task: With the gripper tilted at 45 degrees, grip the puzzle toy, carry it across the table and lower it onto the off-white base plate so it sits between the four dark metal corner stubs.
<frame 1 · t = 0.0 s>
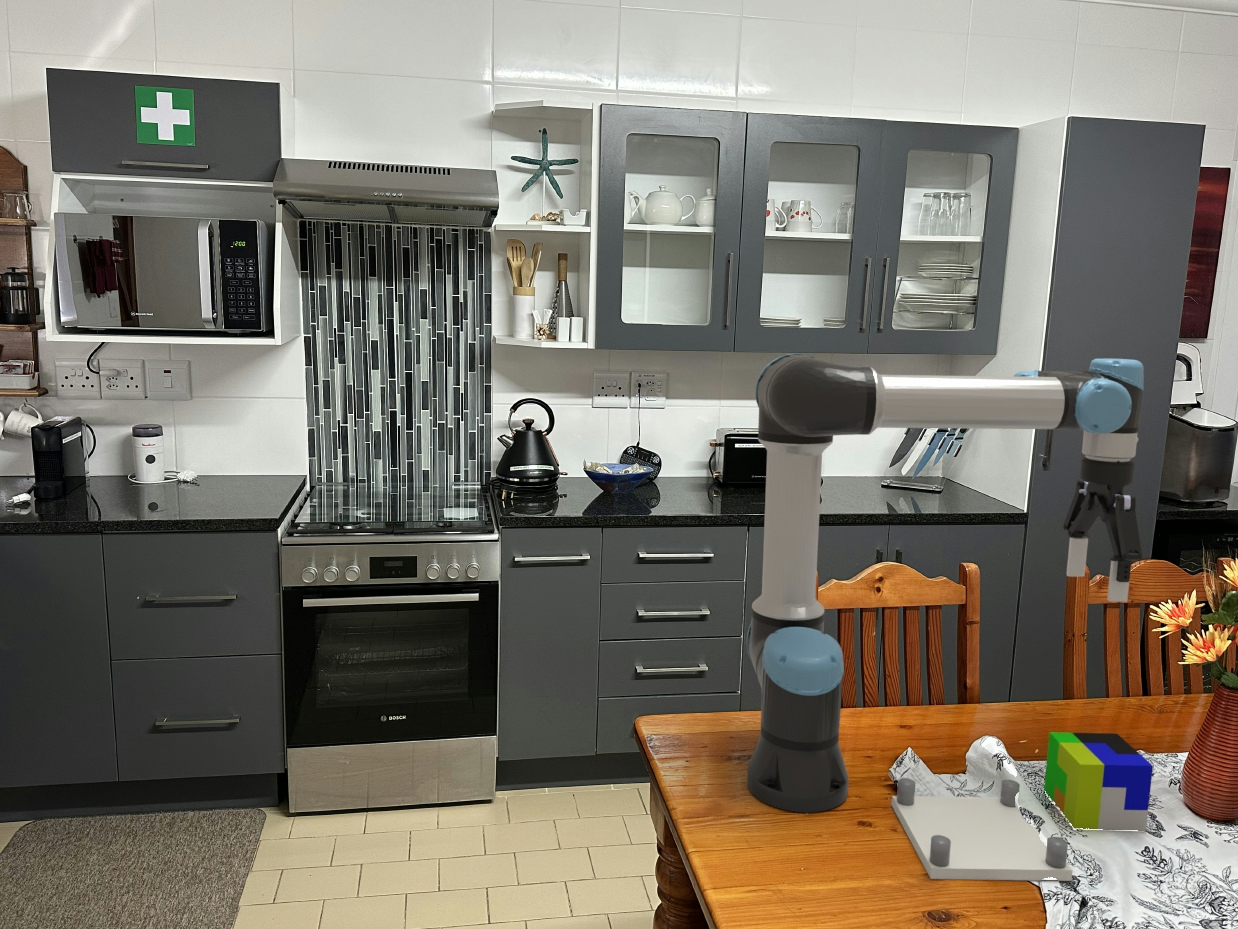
hand: (1095, 588, 152), 28 cm above the table, tool pointing down, fingers open, 13 cm apart
stub base: (975, 840, 130), on the table
puzzle toy: (1092, 814, 138), on the table
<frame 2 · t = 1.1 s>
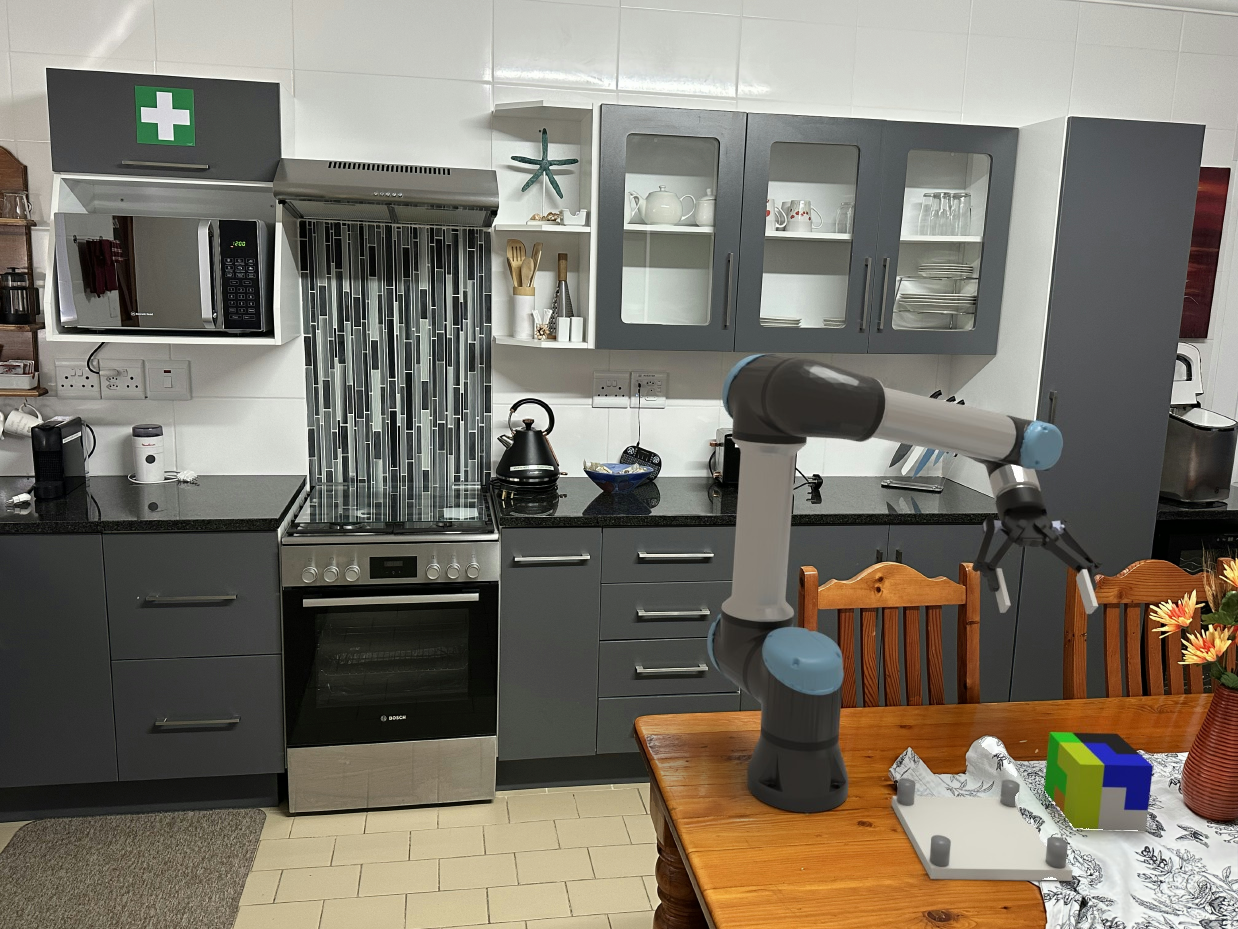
hand: (1048, 609, 149), 26 cm above the table, tool tilted 45°, fingers open, 13 cm apart
nothing on the table moved.
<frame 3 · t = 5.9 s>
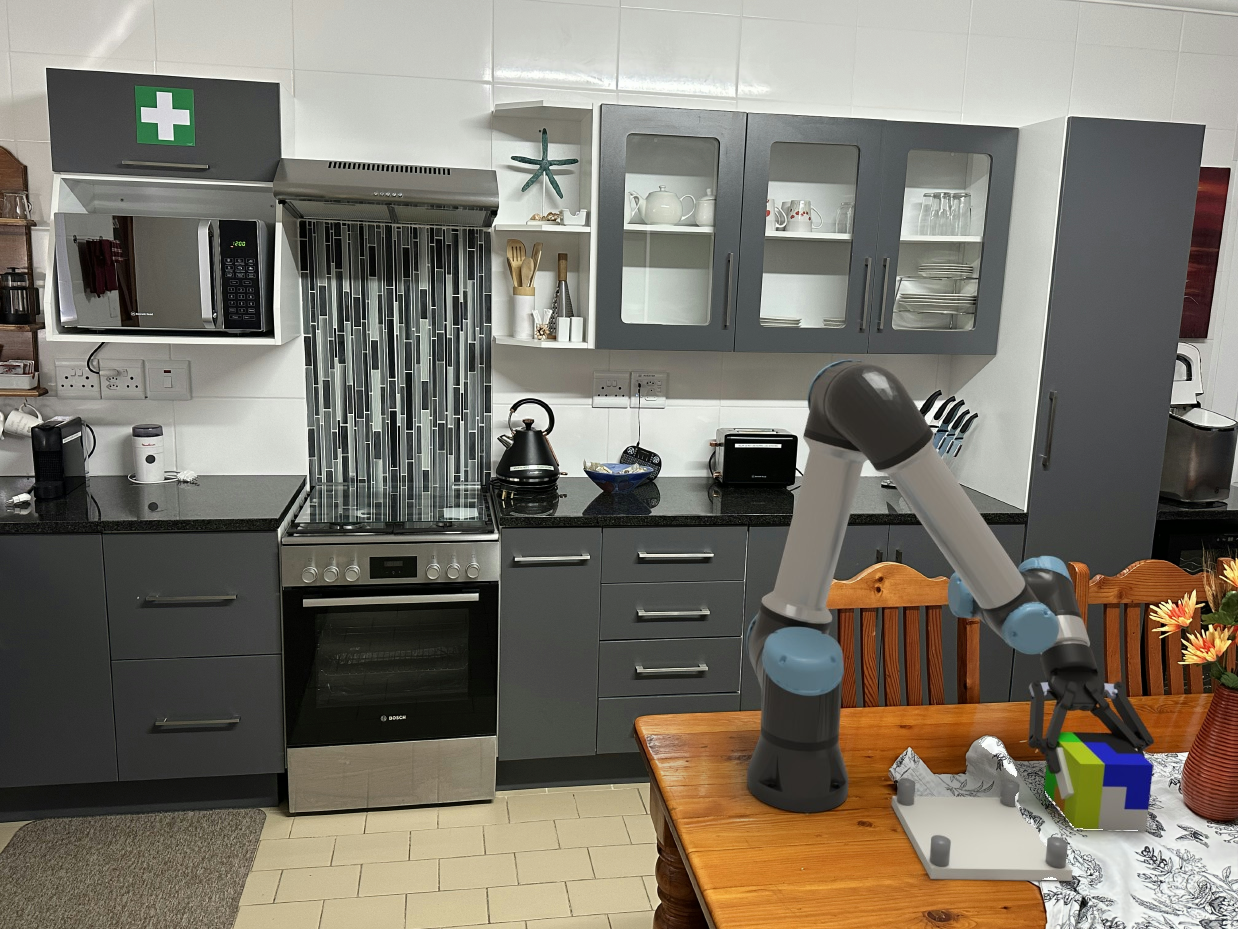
hand: (1106, 796, 134), 4 cm above the table, tool tilted 45°, fingers closed on puzzle toy, 10 cm apart
puzzle toy: (1092, 813, 138), on the table, touching gripper
when the fingers open (7 cm above the table, at t = 12.3 s): puzzle toy drops 1 cm, resting on stub base.
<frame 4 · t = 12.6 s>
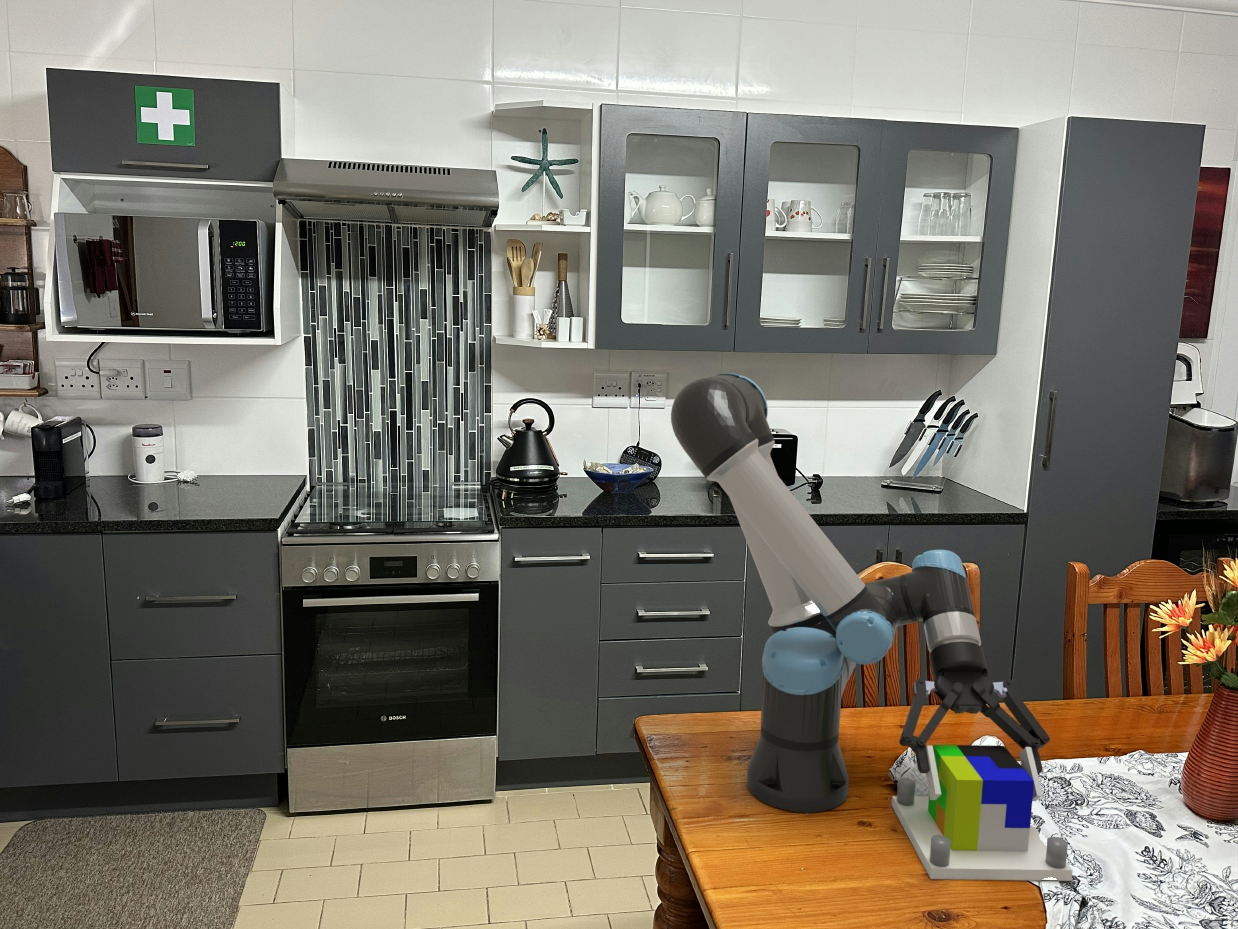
hand: (986, 798, 126), 8 cm above the table, tool tilted 45°, fingers open, 13 cm apart
puzzle toy: (975, 831, 130), point 1 cm above the table, touching stub base
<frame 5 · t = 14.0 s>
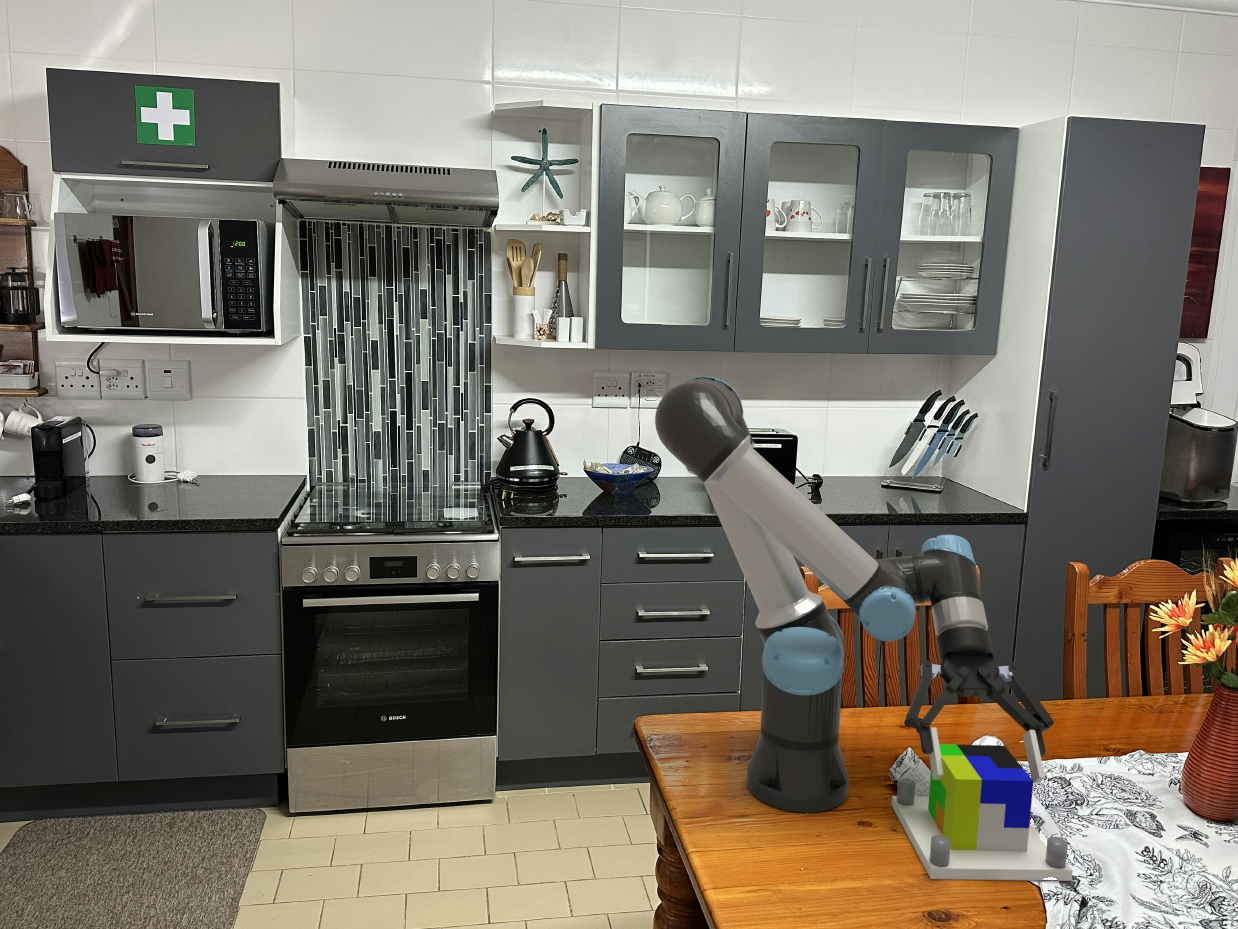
hand: (988, 779, 129), 9 cm above the table, tool tilted 45°, fingers open, 13 cm apart
puzzle toy: (975, 831, 130), point 1 cm above the table, touching gripper, stub base
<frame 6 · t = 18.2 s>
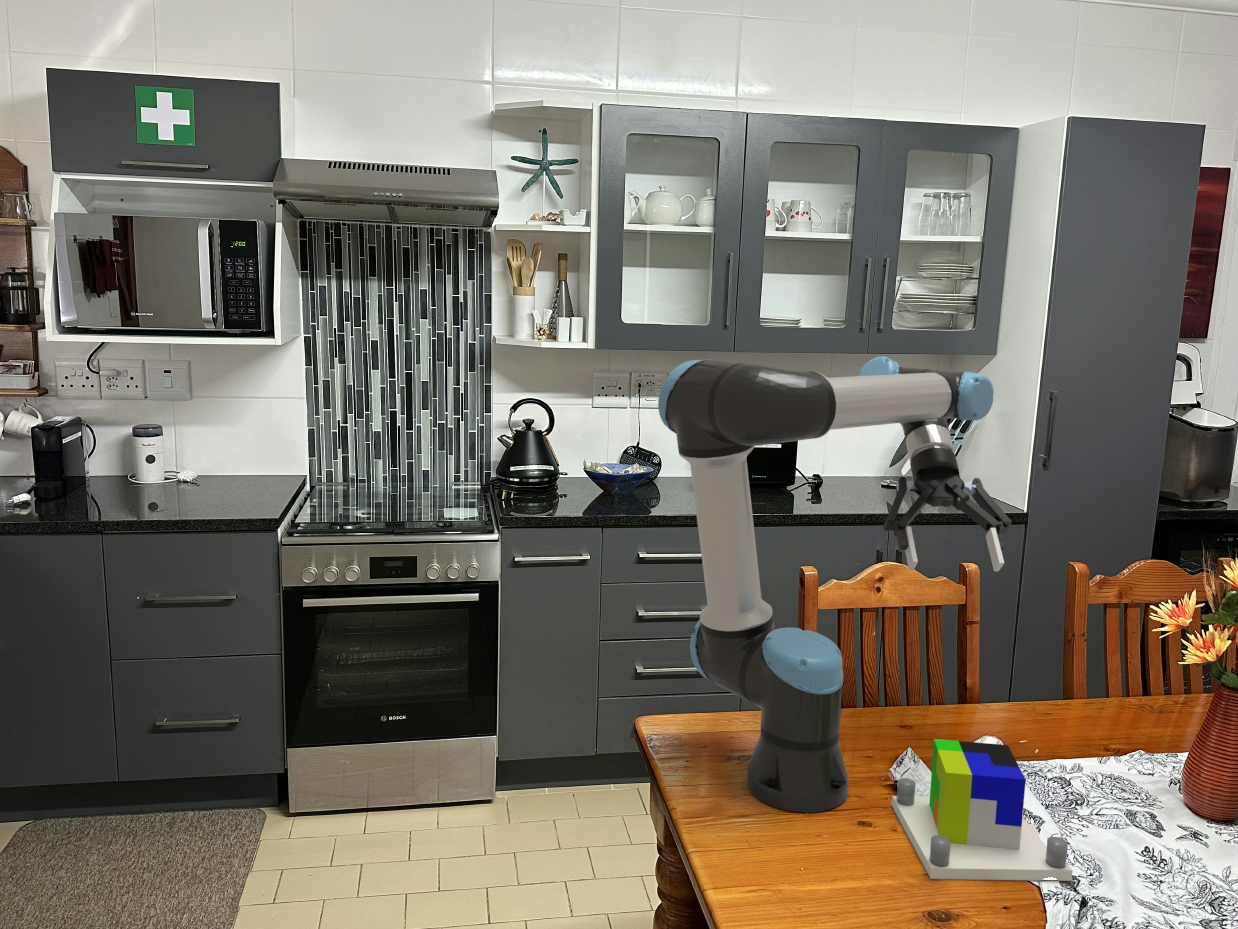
hand: (956, 567, 150), 32 cm above the table, tool tilted 45°, fingers open, 13 cm apart
puzzle toy: (972, 827, 131), point 1 cm above the table, touching stub base
at the end: puzzle toy 1.2 cm off-centre on the stub base, point 1.3 cm above the stub base's base; puzzle toy tilted 0°; the gripper is holding nothing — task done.
